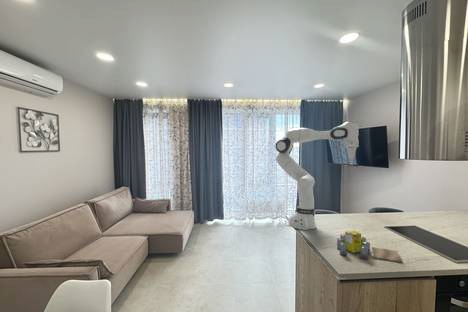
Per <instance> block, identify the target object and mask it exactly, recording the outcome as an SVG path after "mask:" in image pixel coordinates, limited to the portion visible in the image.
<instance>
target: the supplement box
mask: <svg viewBox="0 0 468 312" xmlns="http://www.w3.org/2000/svg"><path fill="white" fill-rule="evenodd" d="M344 235H345V243H346V244H347V252H349V253H350V254H353V255H356V254H360V246H361V237H362V233H360V232H358V231H356V230H345V232H344Z"/></svg>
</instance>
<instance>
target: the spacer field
mask: <svg viewBox="0 0 468 312" xmlns="http://www.w3.org/2000/svg"><path fill="white" fill-rule="evenodd" d="M339 235H340V237H337V238H336V243H337V244H336V247H337V250H338V251H339V255H340V256H342V257H347V256H348V251H347V244H346V243H345V233H343V234H342V233H341V234H339ZM370 255H371V242H369V241H367V238H366V237H364V236H361V246H360V253H359V258H360V259H361V260H364V261H366V260H367V261H368V260H369V256H370Z"/></svg>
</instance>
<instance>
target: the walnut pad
mask: <svg viewBox="0 0 468 312" xmlns="http://www.w3.org/2000/svg"><path fill="white" fill-rule="evenodd" d="M371 250H372V253H373V258H374V259H376V260H381V261H387V262H393V263H400V264H402V263H403V261H402V259H401V256H400V255H399V252H398V251H397V250H394V249H386V248H380V247H375V246H372V247H371Z"/></svg>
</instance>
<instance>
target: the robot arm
mask: <svg viewBox="0 0 468 312" xmlns="http://www.w3.org/2000/svg"><path fill="white" fill-rule="evenodd" d="M359 135H360V134H359V125H358V123H357V122H354V121H346V122H344V123H343V124H341V125H338V126H335V127H333V128H332V129H330V130H315V129H312V128H307V127H297V128H291V129H288V130H286V133H285V136H284V137H282V138H280V139H279V140H278V141H276V143H275V150H276V151H277V152H278V155H276V157H275V160H276V162H277V164H278V166H280V168H281V169H282V170H283V171H284V172H285V173H286V174H287V175H288V176H289V177H290V178H292V179H293V180H295V182H297V183H296V184H297V194H298V206H296V209H295V212H294V213H293V214H291V215H290V216H289V218H288V221H286V222H285V226H286V227H289V228H294V229H299V230H304V231H308V230H314V229H316V228H317V225H316V220H315V219H316V218H315V215H316V210H315V197H314V186H315V183H316V180H315V177H313V176H312V175H311V174H310V173H309V172H308V171H306V170H305V169H304V168H303V167H302V166H300V165H299V164H298V163H297V162H296V160H294V158H292V156H291V155H290V154H291V152H292V151H293V149H294V145H293V144H296V143H308V142H312V141H316V140H333V141H335V142H342V141H343V140H344V141H343V142H344V148H346V150H347V157H348V159H349V165H350V166H353V165H354V159H355V157H356V152H357V151H356V150H357V148H359V144H360V143H359Z"/></svg>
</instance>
